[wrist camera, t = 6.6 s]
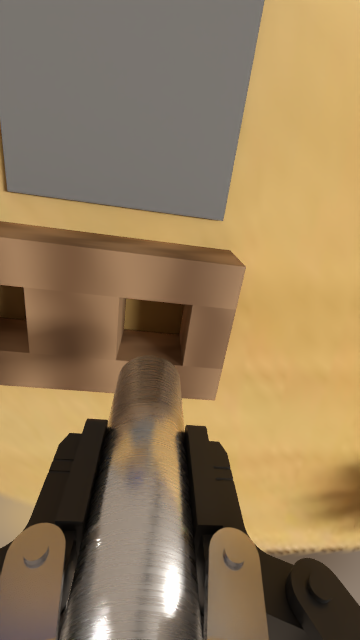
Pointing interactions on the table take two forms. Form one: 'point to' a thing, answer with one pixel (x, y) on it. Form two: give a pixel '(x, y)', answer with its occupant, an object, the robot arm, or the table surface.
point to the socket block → (112, 308)
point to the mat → (126, 99)
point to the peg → (139, 520)
